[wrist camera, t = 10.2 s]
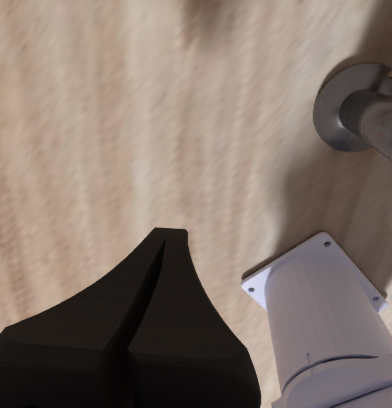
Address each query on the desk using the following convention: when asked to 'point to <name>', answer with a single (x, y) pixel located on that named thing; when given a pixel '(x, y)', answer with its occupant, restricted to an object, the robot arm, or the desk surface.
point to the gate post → (356, 109)
